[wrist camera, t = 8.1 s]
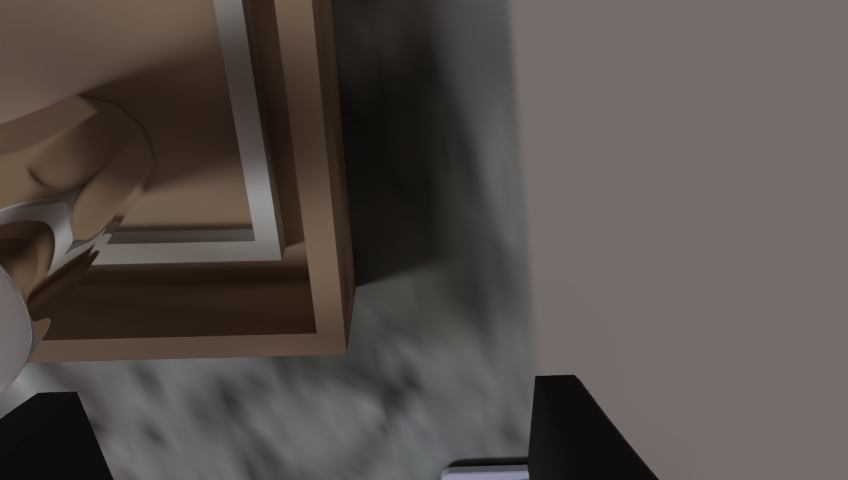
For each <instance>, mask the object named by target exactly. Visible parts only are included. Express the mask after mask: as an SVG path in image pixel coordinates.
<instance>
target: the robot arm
mask: <svg viewBox="0 0 848 480" xmlns="http://www.w3.org/2000/svg"><path fill="white" fill-rule="evenodd" d="M0 480H113V478H112V475H111V473H110V471H109V468H108V466H107V463H106V461H105V459H104V456H103V454H102V451H101V449H100V446H99V444H98V442H97V439H96V437H95V434H94V432H93V430H92V427H91V425H90V422H89V420H88V418H87V415H86V413H85V410H84V408H83V405H82V403H81V401H80V398H79V396H78V393H77V392H49V393H37V394H36V395H34V396H33V397H31V398H30V399H28V400H27V401H25V402H24V403H22V404H21V405H19V406H18V407H16V408H15V409H14V410H12V411H11V412H9V413H8V414H7V415H5V416H4V417H3V418H1V419H0ZM441 480H659V479H658V478H657V477H656V476H655V474H654V473H653V472H652V471H651V470H650V469H649V468H648V466H647V465H646V464H645V463H644V462H643V461H642V459H641V458H640V457H639V456H638V454H637V453H636V452H635V451H634V450H633V448H632V447H631V446H630V445H629V444H628V442H627V441H626V440H625V439H624V437H623V436H622V435H621V433H620V432H619V431H618V430H617V428H616V427H615V426H614V425H613V423H612V422H611V421H610V420H609V418H608V417H607V416H606V414H605V413H604V412H603V410H602V409H601V408H600V406H599V405H598V404H597V402H596V401H595V400H594V398H593V397H592V396H591V394H590V393H589V392H588V390H587V389H586V388H585V386H584V385H583V384H582V382H581V381H580V380H579V379H578V378H577V377H576V376H575V375H552V376H535V387H534V398H533V409H532V420H531V431H530V442H529V454H528V465H501V466H467V467H449V468H447V469H445V470H444V471H443V472H442V475H441Z"/></svg>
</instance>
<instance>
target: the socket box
mask: <svg viewBox="0 0 848 480" xmlns="http://www.w3.org/2000/svg"><path fill="white" fill-rule="evenodd" d="M75 95H78V96H82V97H87V98H92V99H97V100H101V101H106V102H111V103H115V104H116V105H117V106H118V107H120V108H121V109H122V110H123V111H124V112H125V113H126V114H128V115H129V116H130V117H131V118H132V119H133V120H135V121H136V122H137V123H138V124H139V125H140V126H142V127H143V128H144V129H145V132H146V135H147V138H148V141H149V144H150V147H151V150H152V153H153V156H154V159H155V165H154V167H153V169H152V172H151V174H150V177H149V179H148V182H147V184H146V187H145V189H144V191H143V193H142V194H141V196H140V197H139V198H138V200H137V201H136V203H135V204H134V205H133V207H132V208H131V210H130V211H129V212H128V214H127V215H126V217H125V218H124V220H123V221H122V222H121V224H120V225H119V227H118V228H117V229H116V231H115V232H114V234H113V235H112V236H111V238H110V239H109V241H108V242H107V243H106V245H105V246H104V248H103V249H102V250H101V252H100V253H99V255H98V256H97V257H96V259H95V260H94V262H93V263H92V264H91V266H90V267H89V269H88V270H87V272H86V273H85V274H84V276H83V277H82V279H81V280H80V281H79V283H78V284H77V286H76V287H75V289H74V290H73V292H72V294H71V295H70V297H69V298H68V300H67V302H66V303H65V305H64V306H63V308H62V309H61V311H60V312H59V314H58V315H57V317H56V319H55V320H54V322H53V323H52V325H51V326H50V328H49V329H48V331H47V333H46V334H45V336H44V337H43V339H42V340H41V342H40V343H39V345H38V346H37V348H36V350H35V351H34V353H33V354H32V356H31V357H30V359H29V360H28V362H27V363H32V362H70V361H108V360H146V359H184V358H223V357H261V356H299V355H337V354H347V348H348V341H349V333H350V326H351V319H352V311H353V304H354V296H355V289H356V287H355V275H354V263H353V251H352V239H351V227H350V215H349V203H348V191H347V179H346V167H345V155H344V143H343V131H342V119H341V107H340V95H339V83H338V71H337V59H336V47H335V35H334V23H333V11H332V0H0V124H3V123H5V122H8V121H11V120H13V119H16V118H18V117H21V116H23V115H26V114H28V113H31V112H33V111H36V110H39V109H41V108H44V107H46V106H49V105H51V104H54V103H56V102H59V101H61V100H64V99H66V98H69V97H72V96H75Z"/></svg>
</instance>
